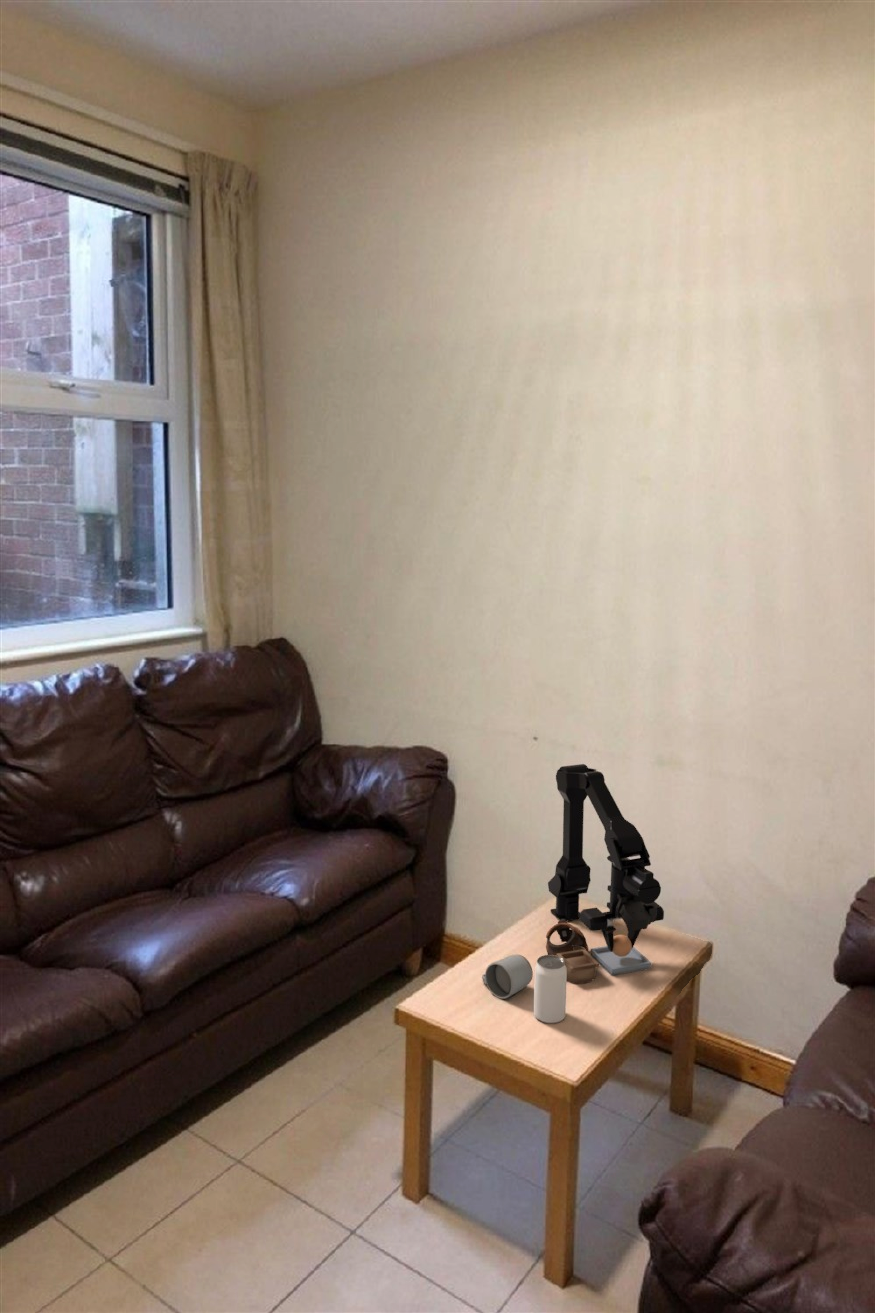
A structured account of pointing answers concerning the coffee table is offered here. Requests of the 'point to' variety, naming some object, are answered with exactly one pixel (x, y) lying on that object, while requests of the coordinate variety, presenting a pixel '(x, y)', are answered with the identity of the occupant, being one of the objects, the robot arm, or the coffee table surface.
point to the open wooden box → (579, 966)
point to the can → (550, 989)
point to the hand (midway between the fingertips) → (620, 949)
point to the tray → (620, 961)
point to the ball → (621, 945)
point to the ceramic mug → (508, 975)
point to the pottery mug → (565, 938)
